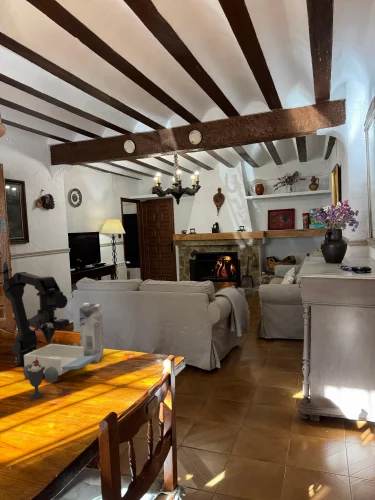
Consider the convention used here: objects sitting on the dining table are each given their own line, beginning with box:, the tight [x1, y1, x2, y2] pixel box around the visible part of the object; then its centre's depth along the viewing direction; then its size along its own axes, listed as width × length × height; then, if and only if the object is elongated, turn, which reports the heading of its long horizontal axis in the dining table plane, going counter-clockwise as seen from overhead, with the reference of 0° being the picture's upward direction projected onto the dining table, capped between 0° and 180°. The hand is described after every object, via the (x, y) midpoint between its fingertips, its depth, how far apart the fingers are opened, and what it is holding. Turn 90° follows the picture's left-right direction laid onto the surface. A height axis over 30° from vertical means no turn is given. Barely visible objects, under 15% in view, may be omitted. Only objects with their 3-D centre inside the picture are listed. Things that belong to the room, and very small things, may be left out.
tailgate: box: [62, 355, 97, 371], centre depth 149 cm, size 2×13×8 cm
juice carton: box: [79, 302, 104, 364], centre depth 168 cm, size 9×10×27 cm
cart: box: [23, 343, 84, 384], centre depth 154 cm, size 18×18×10 cm
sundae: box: [26, 357, 45, 400], centre depth 132 cm, size 7×7×15 cm
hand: (48, 342), depth 154 cm, fingers closed
